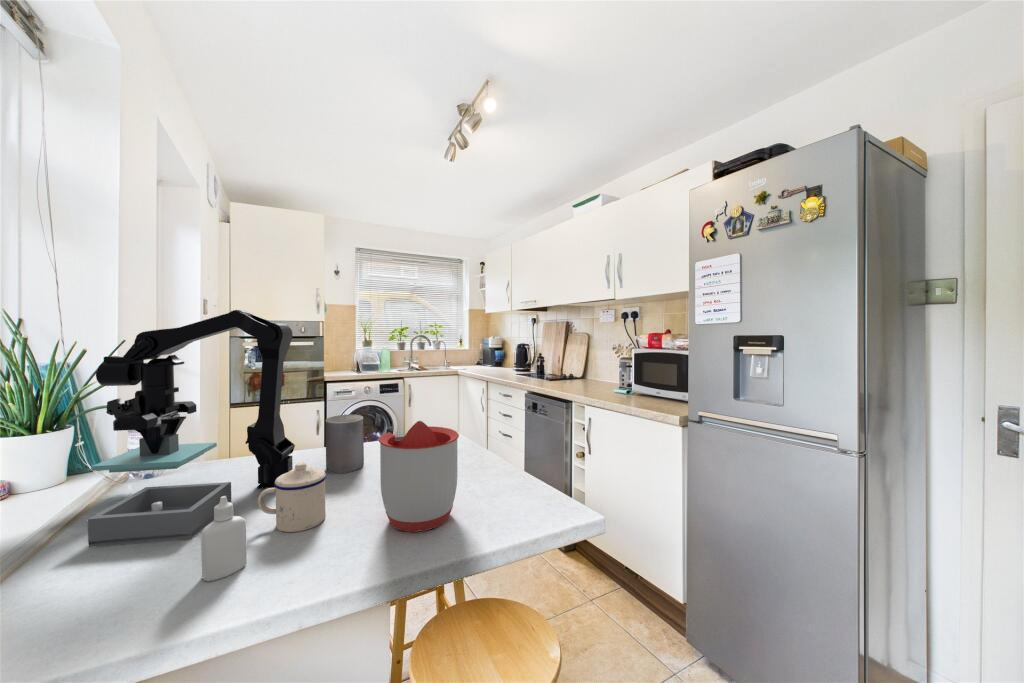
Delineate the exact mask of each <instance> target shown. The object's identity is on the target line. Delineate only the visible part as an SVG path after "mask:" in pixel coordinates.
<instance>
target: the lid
mask: <svg viewBox="0 0 1024 683" xmlns="http://www.w3.org/2000/svg"><path fill="white" fill-rule="evenodd" d="M138 441H139V442H138V443H139V446H138V447H135V448H134V449H131V450H129V451H125V452H123V453H121V454H118V455H116V456H114V457H111V458H107V459H106V460H104V461H101V462H98V463H95V464H94V465H91V466H90V471H91V472H95V471H99V472H100V471H108V473H109V474H110V473H112V474H113V473H124V472H125V473H126V472H129V473H130V472H142V471H143V472H147V471H163V470H175V469H179V468H180V467H182V466H184V465H186V464H188V463H190V462H192V461H194V460H196V459H197V458H199V457H201V456H203V455H204V454H205V453H207V452H208V451H211V450H213V449H215V448H216V447H217V446H218V445H217V444H218V442H198V443H197V442H196V443H195V442H194V443H179V433H176V434H165V435H164V436H163V439H162V442H161V446H160V449H159V451H158V453H156V454H152V453H151V452H150V450H149V448H148V446H147V444H146V442H145V440H144V438H143V437H141V438H139V439H138Z"/></svg>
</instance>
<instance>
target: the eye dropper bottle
mask: <svg viewBox="0 0 1024 683" xmlns="http://www.w3.org/2000/svg"><path fill="white" fill-rule="evenodd" d="M200 533H201V534H200V547H201V548H200V551H201V552H200V553H201V555H200V556H201V559H200V560H201V577H202V579H203V580H204V581H206V582H212V581H216V580H220V579H223V578H225V577H228V576H230V575H233V574H235V573H237V572H239V571H241V570H242V569H243V568H244V567H246V566H247V561H248V559H247V558H248V557H247V522H246V520H245V518H243V517H242V516H239V515H234V503H233V502H232V501H231V502H228V501H227V498H226V496H222V497H221V498H220V503H219V504H218V505H216V506H215V507H214V520H213V521H212V522H211V523H210V524H209V525H207V526H206V527H205V528H204V529H203V530H202V531H200Z"/></svg>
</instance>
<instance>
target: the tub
mask: <svg viewBox="0 0 1024 683" xmlns="http://www.w3.org/2000/svg"><path fill="white" fill-rule="evenodd" d="M222 496H226V498H227V501H228V502H231V503H232V482H231V481H225V482H210V483H209V482H208V483H194V484H180V485H179V484H175V485H162V486H147V487H144V488H142V489H140V490H138V491H136V492H135V493H133V494H131V495H129V496H127V497H126V498H123V499H122V500H120V501H118V502H115V504H113V505H111V506H109V507H107V508H105V509H103V510H101V511H100V512H98V513H96V514H94V515H93V516H91V517H89V518H87V544H88V545H87V547H88V548H95V547H96V548H97V547H107V546H119V545H121V546H122V545H130V544H131V545H133V544H142V543H143V544H144V543H153V542H155V543H157V542H167V541H168V542H169V541H179V540H189V539H190V540H191V539H194V538H195V537H196V536H197V535H198V534H199V533H201V532H202V530H203V529H204V528H205V527H206V526H207V525H209V524H210V523H212V522H213V521H214V507H215V506H216V505H218V504H219V503H220V498H221V497H222Z"/></svg>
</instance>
